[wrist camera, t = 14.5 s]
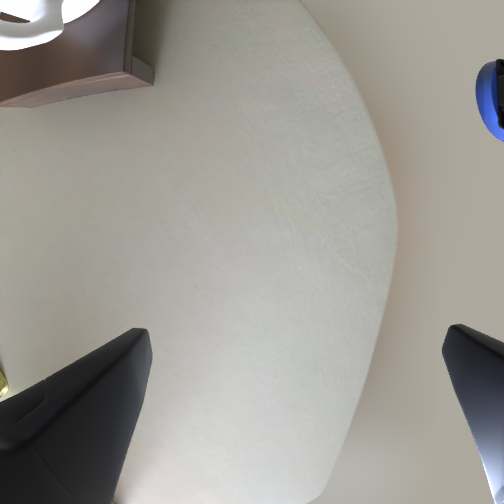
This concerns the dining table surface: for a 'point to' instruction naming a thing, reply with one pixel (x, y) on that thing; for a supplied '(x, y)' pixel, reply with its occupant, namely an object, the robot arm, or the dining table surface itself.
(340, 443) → the dining table surface
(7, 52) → the wooden box
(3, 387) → the vase
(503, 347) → the robot arm
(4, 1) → the mug
